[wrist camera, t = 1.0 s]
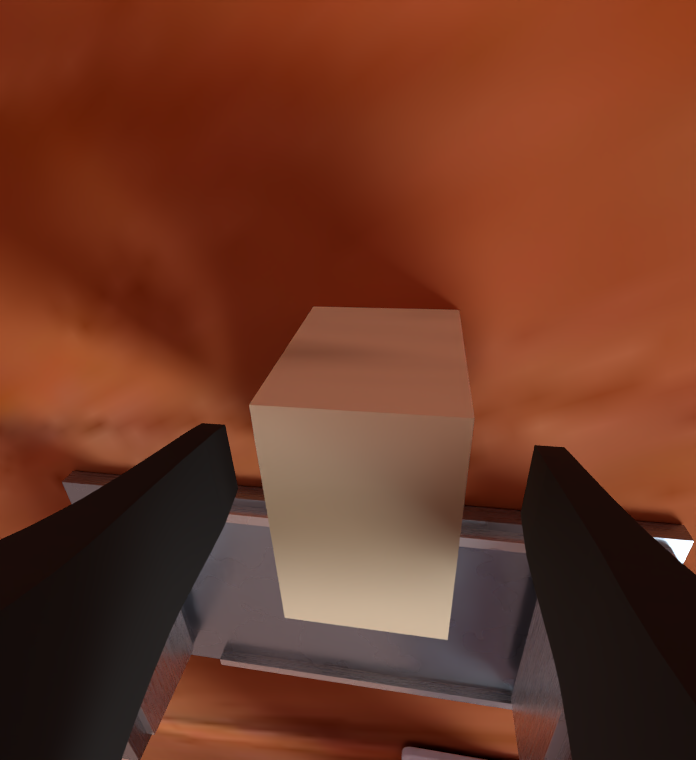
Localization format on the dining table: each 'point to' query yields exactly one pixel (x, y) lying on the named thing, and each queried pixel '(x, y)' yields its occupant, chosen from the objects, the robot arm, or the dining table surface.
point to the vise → (350, 644)
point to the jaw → (539, 700)
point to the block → (367, 466)
